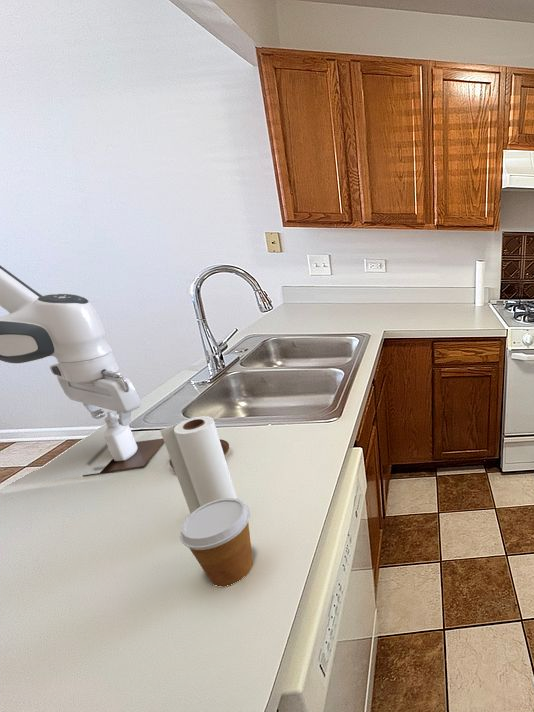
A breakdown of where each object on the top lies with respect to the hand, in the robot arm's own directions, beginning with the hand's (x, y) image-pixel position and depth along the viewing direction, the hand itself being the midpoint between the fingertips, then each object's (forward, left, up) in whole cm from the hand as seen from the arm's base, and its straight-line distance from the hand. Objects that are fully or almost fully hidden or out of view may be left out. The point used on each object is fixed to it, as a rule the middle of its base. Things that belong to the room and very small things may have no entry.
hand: (112, 420), depth 93 cm
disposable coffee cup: (+34, -42, -10) cm, 55 cm away
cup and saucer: (+18, -6, -10) cm, 22 cm away
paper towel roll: (+28, -27, -10) cm, 41 cm away
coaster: (0, 0, -10) cm, 10 cm away
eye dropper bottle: (0, 0, -10) cm, 10 cm away
